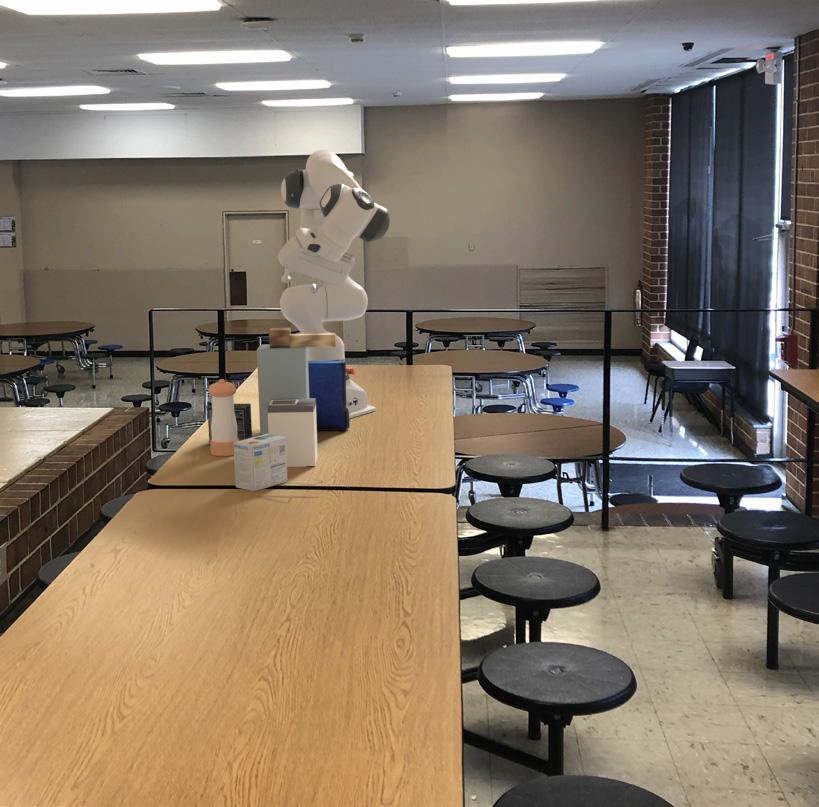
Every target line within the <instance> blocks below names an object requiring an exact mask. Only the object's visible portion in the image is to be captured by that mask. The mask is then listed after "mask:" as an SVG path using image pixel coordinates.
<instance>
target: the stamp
mask: <svg viewBox="0 0 819 807" xmlns="http://www.w3.org/2000/svg"><path fill="white" fill-rule="evenodd" d="M291 330H292V329H291V327H271V328H270V329H269V330H268V337H269V344H270V348H290V347H334V346H336V336H337V332H335V333H334V332H330V333H320V334H301V333H292V331H291Z"/></svg>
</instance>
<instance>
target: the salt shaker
mask: <svg viewBox="0 0 819 807" xmlns="http://www.w3.org/2000/svg"><path fill="white" fill-rule="evenodd" d="M207 392H208V393H209V394H208V395H209V396H211V405H212V421H211V435H212V439H211V441H210V444H211V446H210V454H211V455H212V456H216V457H231V456H234V445H233V442H236V441H239V439H238V438H237V422H236V417H235V413H234V404H235V400H234V395H235V394H236V392H237V387H236V385H235V384H234V383H233V382H230V381H226V380H225V379H224V378H223V379H221V378H220V379H219V380H218V381H217V382H214V383H212V384H210V386H209V387H208V391H207Z"/></svg>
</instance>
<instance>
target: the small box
mask: <svg viewBox="0 0 819 807" xmlns="http://www.w3.org/2000/svg"><path fill="white" fill-rule="evenodd" d="M251 406H252V405H251V403H234V413H235V417H236V422H237V438H238V439H239V441H241V440H245V439H249V438H252V437H253V425H252V407H251ZM211 421H212V404H211V405H209V406H207V423H208V442H209V443H208V446H209V447H211V444H210V441H211V439H212V435H211Z"/></svg>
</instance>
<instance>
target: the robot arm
mask: <svg viewBox="0 0 819 807" xmlns="http://www.w3.org/2000/svg"><path fill="white" fill-rule="evenodd" d="M280 192H281V197H282V199H283V202H284V204H285V205H286V206H287V207H289V208H292V209H298V210H299V209H301V212H300V222H299V228H297V230H296V231H295V236H293V237H291V238H289V240H287V242H286V243H285V244H284V245H283V247H282V248H281V250H280V251H279V252H278V253H277V259H278V262H279V263H280V265H281V266H282V267H283V271H284V273H283V275H282V276H281V278H280V279H281V282H282V283H285V284H289V283H290V282H291V280H292V277H291V276H290V274H292V273H293V272H297V273H300V274H301V275H306V276H308V277H310V278H313V279H316V280H319V281H318V282H317V283H316V284H315V283H312V284H300V285H294V286H290V287H287V288H286V289H284V290H283V292H282V294H281V296H280V298H279V309H280V311H281V314H282V315H283V317H284V319H286V320H287V321H288V322H290V323H291V324H292V325H294V326H295V327H296V328H297V330H298V331H299V333H300V334H320V333H331V332H330V331H327V330H326V329H325V328H324V325H323V324H324V323H325V322H343V321H351V320H355V319H358V318H361V317H363V316H364V314H366V311H367V309H368V307H369V305H368V304H369V299H368V298H369V297H368V294H367V292H366V290H365V289H364V288H363V287H362V285H360V284H358V283H357V282H356V281H354V280H353V279H352V278H351V277H350V275H349V274H350V273H351V270H352V269H353V268H354V266H355V265H356V263H357V262H356V260H357V259H356V258H355V256H354V255H353V254H349V253H348V252H347V251H348V250H349V249H350V247H351V246H352V242H353V241H354V240H355V239H356V237H358V238H359V239H361V240H362V241H363V242H365V243H373V242H375V241H376V242H377V241H378V240H381V239H382V238H383V237H384V236H385V234H386V233H387V232H388V230H389V227H390V224H391V223H390V215H389V211H388V209H387V208H386V207H384V206H382V205H379V204H377V203H376V202H374V199H373V197H372V196H371V195H370V194H369V193H368V192H366V190H364V189H363V188H361V185H360V184H359V183H358V182H357V179H356V176H355V175H354V173H353V172H352V171H350V170H349V169H348V168H347V166H346V165H345V164H344V161H343V160H342V159H341V158H340V157H339V156H338V155H337V154H336V153H334V152H332V151H330V150H328V149H327V150H326V149H319V150H315V151H314V152H312V153H311V154H310V155H309V156H308V158H307V160H306V164H305V169H299V168H295V169H294V170H293V171H289V172H287V173H286V175H285V176H284V177H283V180H282V182H281V186H280ZM342 359H344V360H346V359H345V343H344V340H342V339H341V337H340V336H338V335H336V346H334V347H308V361H331V360H342ZM356 373H357V371H356V369H355V368H354V367H348V368H347V367H346V408H347V409H348V410H349V418H350V419H353V418H355V417H358V416H361V415H365V414H369V413H372V412H375V411H376V407H375V406H374V405H371V404H368V403H369V402H368V395H367V392H366V391H365V390H364V389H363V388H362V387H361V386H359V385H358V384H357V383H355V381H353V380H352V379H351V377H350V375H352V376H354V375H356Z"/></svg>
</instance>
